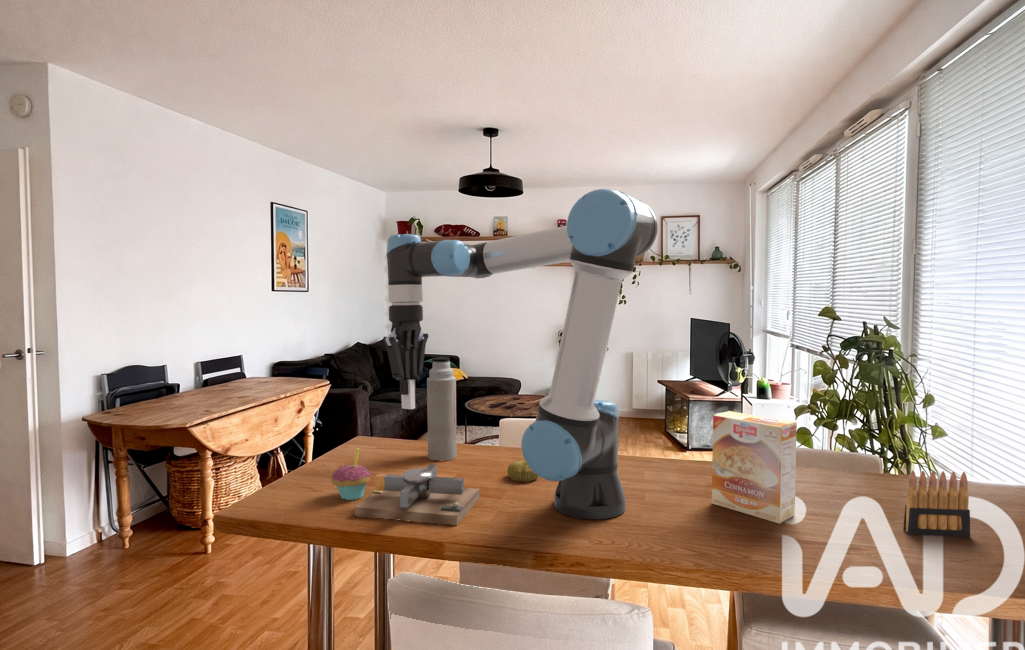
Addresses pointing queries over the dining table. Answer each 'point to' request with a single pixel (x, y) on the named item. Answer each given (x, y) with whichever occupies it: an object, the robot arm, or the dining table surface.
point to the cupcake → (351, 479)
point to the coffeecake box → (754, 465)
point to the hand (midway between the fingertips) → (408, 408)
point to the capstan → (419, 484)
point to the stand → (419, 507)
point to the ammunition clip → (937, 507)
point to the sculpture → (521, 471)
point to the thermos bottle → (441, 411)
